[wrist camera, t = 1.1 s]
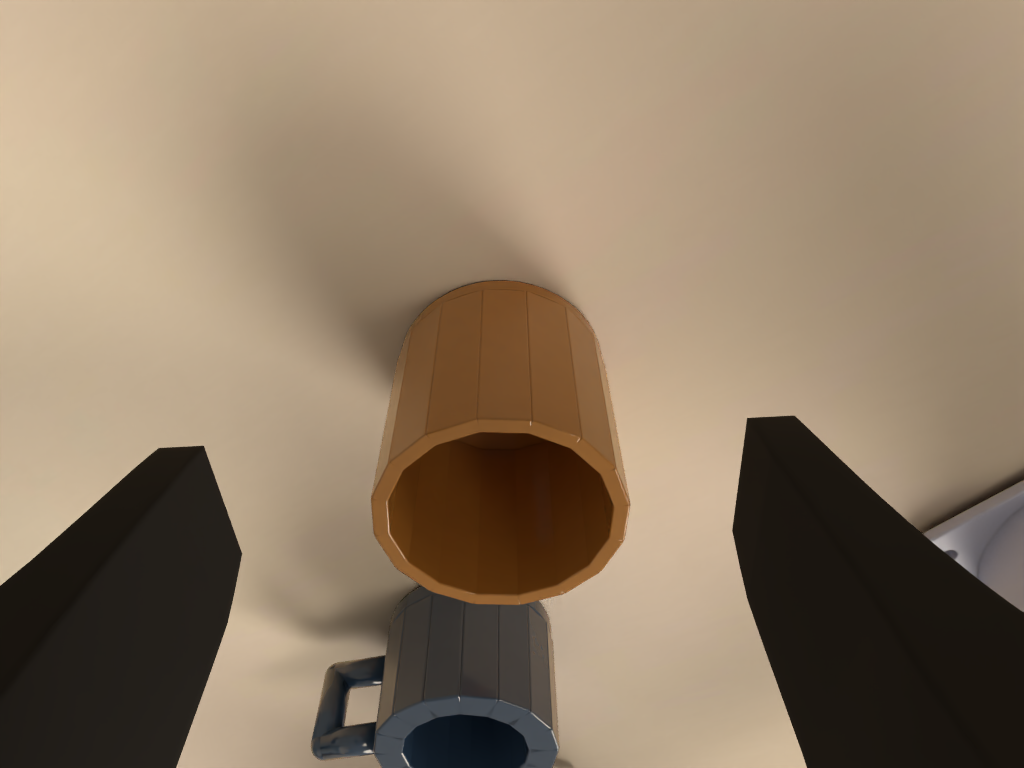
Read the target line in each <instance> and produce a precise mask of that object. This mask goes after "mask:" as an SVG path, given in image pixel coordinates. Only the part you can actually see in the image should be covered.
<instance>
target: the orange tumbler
mask: <svg viewBox="0 0 1024 768" xmlns="http://www.w3.org/2000/svg"><path fill="white" fill-rule="evenodd" d="M371 507H372V519H373V531H374V535H375V538H376V539H377V541H378V542H379V544H380V545H381V547H382V548H383V550H384V551H385V553H386V554H387V556H388V557H389V559H390V560H391V562H392V563H393V565H394V566H395V567H396V568H397V569H398V570H399V571H401V572H402V573H404V574H405V575H407V576H408V577H410V578H411V579H413V580H414V581H416V582H417V583H419V584H420V585H422V586H423V587H425V588H426V589H428V590H429V591H431V592H434V593H437V594H441V595H444V596H448V597H451V598H454V599H458V600H461V601H465V602H468V603H471V604H473V603H474V604H491V605H520V604H521V605H522V604H526V603H530V602H534V601H538V600H542V599H546V598H550V597H554V596H558V595H562V594H564V593H567V592H568V591H570V590H572V589H573V588H575V587H577V586H578V585H580V584H581V583H583V582H585V581H586V580H588V579H590V578H591V577H593V576H595V575H596V574H598V573H599V572H600V571H602V569H603V568H604V567H605V565H606V564H607V563H608V561H609V560H610V559H611V558H612V556H613V555H614V554H615V552H616V551H617V550H618V548H619V547H620V546H621V544H622V543H623V541H624V539H625V534H626V528H627V522H628V516H629V510H630V499H629V494H628V488H627V483H626V477H625V472H624V466H623V461H622V455H621V450H620V444H619V439H618V433H617V428H616V422H615V417H614V412H613V406H612V401H611V395H610V390H609V384H608V379H607V373H606V368H605V364H604V361H603V359H602V355H601V350H600V347H599V343H598V340H597V338H596V335H595V333H594V331H593V329H592V328H591V326H590V325H589V323H588V321H587V320H586V319H585V318H584V316H583V315H582V314H581V313H580V312H579V311H578V310H577V309H576V308H575V307H574V306H572V305H571V304H570V303H569V302H567V301H566V300H564V299H563V298H561V297H560V296H558V295H556V294H554V293H552V292H550V291H548V290H546V289H544V288H541V287H538V286H535V285H532V284H527V283H522V282H516V281H486V282H479V283H474V284H471V285H467V286H463V287H461V288H458V289H456V290H453V291H451V292H449V293H447V294H445V295H444V296H442V297H440V298H438V299H437V300H436V301H434V302H433V303H432V304H430V305H429V306H428V307H427V308H426V309H425V310H424V311H423V312H422V313H421V314H420V315H419V316H418V317H417V319H416V320H415V321H414V322H413V324H412V325H411V327H410V329H409V331H408V333H407V334H406V337H405V340H404V342H403V345H402V350H401V354H400V356H399V358H398V361H397V366H396V371H395V376H394V381H393V387H392V392H391V397H390V402H389V407H388V413H387V418H386V423H385V428H384V433H383V438H382V444H381V449H380V454H379V459H378V464H377V470H376V475H375V480H374V485H373V490H372V496H371Z"/></svg>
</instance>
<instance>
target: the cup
mask: <svg viewBox="0 0 1024 768" xmlns="http://www.w3.org/2000/svg"><path fill="white" fill-rule="evenodd" d="M377 685H382V686H381V693H380V701H379V708H378V715H377V722H371V723H364V724H357V725H350V726H344V723H345V718H346V712H347V706H348V700H349V695H350V689H357V688H363V687H370V686H377ZM311 751H312V753H313V755H314V756H315V757H316V758H317V759H319V760H322V761H327V760H334V759H342V758H349V757H356V756H363V755H371V754H374V756H375V757H376V759H377V761H378V762H379V764H380V766H381V767H382V768H552V767H553V765H554V762H555V759H556V756H557V754H558V751H559V734H558V717H557V700H556V684H555V667H554V650H553V641H552V637H551V624H550V620H549V617H548V614H547V612H546V611H545V609H544V607H543V606H542V604H541V603H540V602H539V601H534V602H530V603H526V604H522V605H521V604H520V605H491V604H474V603H473V604H471V603H468V602H465V601H461V600H458V599H454V598H451V597H448V596H444V595H441V594H437V593H434V592H431V591H429V590H428V589H426V588H425V587H423V586H420V587H419V588H417V589H415V590H413V591H412V592H411V593H409V594H408V595H407V596H406V597H405V598H404V599H403V600H402V601H401V602H400V603H399V604H398V606H397V607H396V609H395V611H394V613H393V615H392V618H391V623H390V629H389V636H388V643H387V650H386V655H384V656H378V657H371V658H364V659H358V660H351V661H345V662H338V663H335V664H333V665H331V666H330V667H329V668H328V669H327V671H326V674H325V678H324V683H323V688H322V693H321V698H320V703H319V708H318V712H317V717H316V722H315V727H314V732H313V737H312V741H311Z"/></svg>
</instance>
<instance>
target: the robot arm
mask: <svg viewBox="0 0 1024 768" xmlns="http://www.w3.org/2000/svg"><path fill="white" fill-rule="evenodd" d="M732 531H733V536H734V540H735V545H736V550H737V555H738V559H739V564H740V569H741V573H742V577H743V582H744V586H745V590H746V595H747V599H748V602H749V605H750V608H751V611H752V614H753V617H754V619H755V622H756V625H757V628H758V631H759V634H760V636H761V639H762V642H763V645H764V648H765V651H766V653H767V656H768V659H769V662H770V665H771V667H772V670H773V673H774V676H775V678H776V681H777V684H778V687H779V690H780V692H781V695H782V698H783V701H784V703H785V706H786V709H787V712H788V715H789V717H790V720H791V723H792V726H793V728H794V731H795V734H796V737H797V740H798V742H799V745H800V748H801V751H802V753H803V756H804V759H805V763H806V766H807V768H1024V480H1023V481H1021V482H1019V483H1017V484H1015V485H1013V486H1011V487H1009V488H1007V489H1005V490H1004V491H1002V492H1000V493H998V494H996V495H994V496H992V497H990V498H988V499H987V500H985V501H983V502H981V503H979V504H977V505H975V506H973V507H971V508H970V509H968V510H966V511H964V512H962V513H960V514H958V515H956V516H954V517H953V518H951V519H949V520H947V521H945V522H943V523H941V524H939V525H937V526H936V527H934V528H932V529H930V530H928V531H927V532H925V533H924V534H922V533H921V532H920V531H918V530H917V529H916V528H915V527H914V526H913V525H911V524H910V523H909V522H908V521H907V520H906V519H905V518H904V517H902V516H901V515H900V514H899V513H898V512H897V511H896V510H895V509H893V508H892V507H891V506H890V505H889V504H888V503H887V502H885V501H884V500H883V499H882V498H881V497H880V496H879V495H878V494H877V493H876V492H875V491H873V490H872V489H871V488H870V487H869V486H868V485H867V484H866V483H865V482H864V481H863V480H862V479H861V478H860V477H858V476H857V475H856V474H855V473H854V472H853V471H852V470H851V469H850V468H849V467H848V466H847V465H846V464H845V463H844V462H843V461H842V460H840V459H839V458H838V457H837V456H836V455H835V454H834V453H833V452H832V451H831V450H830V449H829V448H828V447H827V446H826V445H825V444H824V443H823V442H822V441H821V440H820V439H819V438H817V437H816V436H815V435H814V434H813V433H812V432H811V431H810V430H809V429H808V428H807V427H806V426H805V425H804V424H803V423H802V422H801V421H800V420H799V419H797V418H796V417H795V416H779V417H759V418H747V424H746V432H745V439H744V447H743V455H742V462H741V470H740V477H739V485H738V492H737V500H736V507H735V515H734V522H733V530H732ZM944 551H945V552H944ZM241 556H242V552H241V549H240V547H239V544H238V541H237V538H236V535H235V533H234V530H233V527H232V524H231V521H230V518H229V516H228V513H227V510H226V507H225V504H224V502H223V499H222V496H221V493H220V490H219V488H218V485H217V482H216V479H215V476H214V473H213V471H212V468H211V465H210V462H209V459H208V457H207V454H206V451H205V448H204V446H191V447H172V448H158V449H157V450H156V451H155V452H154V453H152V454H151V455H150V456H149V457H147V458H146V459H145V460H144V461H143V462H141V463H140V464H139V465H138V466H137V467H136V468H135V469H133V470H132V471H131V472H130V473H129V474H128V475H127V476H125V477H124V478H123V479H122V480H121V481H120V482H119V483H118V484H117V485H115V486H114V487H113V488H112V489H111V490H110V491H109V492H108V493H107V494H105V495H104V496H103V497H102V498H101V499H100V500H99V501H98V502H97V503H95V504H94V505H93V506H92V507H91V508H90V509H89V510H88V511H87V512H86V513H84V514H83V515H82V516H81V517H80V518H79V519H78V520H76V521H75V522H74V523H73V524H72V525H71V526H70V527H69V528H67V529H66V530H65V531H64V532H63V533H62V534H61V535H60V536H58V537H57V538H56V539H55V540H54V541H53V542H52V543H50V544H49V545H48V546H47V547H46V548H45V549H44V550H43V551H41V552H40V553H39V554H38V555H37V556H36V557H35V558H33V559H32V560H31V561H30V562H29V563H28V564H26V565H25V566H24V567H23V568H21V569H20V570H19V571H18V572H17V573H15V574H14V575H13V576H12V577H10V578H9V579H8V580H7V581H6V582H4V583H3V584H2V585H1V586H0V768H176V766H177V763H178V761H179V758H180V755H181V752H182V750H183V747H184V744H185V741H186V739H187V736H188V733H189V730H190V727H191V725H192V722H193V719H194V716H195V714H196V711H197V708H198V705H199V703H200V700H201V697H202V694H203V691H204V689H205V686H206V683H207V680H208V678H209V675H210V672H211V669H212V666H213V663H214V661H215V658H216V655H217V652H218V649H219V646H220V643H221V641H222V638H223V635H224V632H225V629H226V626H227V623H228V618H229V614H230V610H231V605H232V601H233V597H234V592H235V587H236V582H237V577H238V572H239V567H240V562H241Z"/></svg>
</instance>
